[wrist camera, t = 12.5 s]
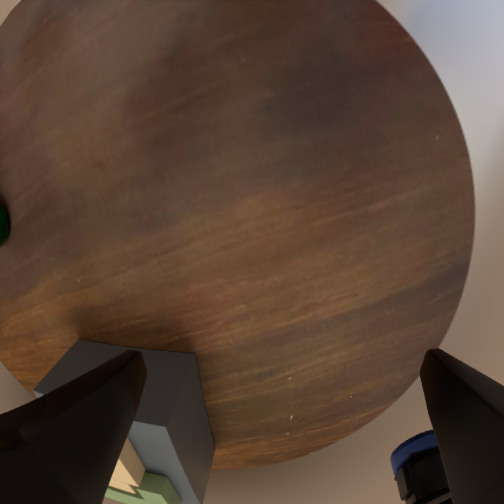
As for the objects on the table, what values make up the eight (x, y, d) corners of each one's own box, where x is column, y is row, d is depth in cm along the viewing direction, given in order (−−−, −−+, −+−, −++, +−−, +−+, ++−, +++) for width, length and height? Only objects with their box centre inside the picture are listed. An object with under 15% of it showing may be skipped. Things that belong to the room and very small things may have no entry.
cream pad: (126, 434, 17) (116, 455, 15) (153, 479, 19) (146, 497, 17) (72, 418, 17) (61, 435, 15) (104, 465, 19) (96, 481, 17)
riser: (195, 353, 23) (165, 427, 16) (215, 448, 28) (201, 507, 20) (78, 338, 24) (32, 390, 17) (119, 431, 29) (94, 479, 21)
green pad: (167, 476, 18) (161, 495, 16) (181, 500, 20) (177, 517, 18) (82, 452, 19) (74, 467, 17) (104, 480, 21) (98, 494, 19)
